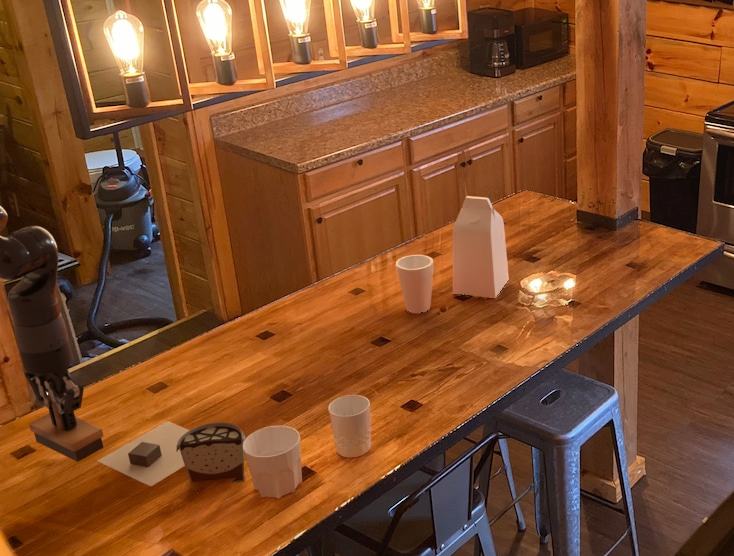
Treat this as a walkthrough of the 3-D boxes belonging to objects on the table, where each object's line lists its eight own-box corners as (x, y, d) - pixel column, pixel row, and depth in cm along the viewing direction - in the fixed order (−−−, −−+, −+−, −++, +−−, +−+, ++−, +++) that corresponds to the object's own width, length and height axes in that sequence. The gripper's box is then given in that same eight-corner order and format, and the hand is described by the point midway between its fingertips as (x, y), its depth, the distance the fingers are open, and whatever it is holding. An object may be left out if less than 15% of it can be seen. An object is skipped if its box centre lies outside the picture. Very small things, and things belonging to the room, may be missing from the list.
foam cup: (393, 307, 247) (388, 261, 241) (423, 296, 252) (420, 251, 247) (412, 319, 240) (408, 273, 235) (443, 308, 246) (440, 262, 241)
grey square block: (130, 464, 182) (127, 453, 181) (144, 452, 186) (141, 441, 185) (148, 467, 181) (145, 456, 180) (161, 455, 185) (159, 444, 184)
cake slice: (257, 461, 185) (250, 417, 181) (252, 480, 180) (244, 436, 176) (191, 467, 183) (182, 423, 179) (183, 487, 178) (174, 442, 174)
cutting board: (97, 465, 184) (96, 460, 183) (168, 424, 196) (167, 420, 196) (151, 491, 177) (150, 486, 176) (221, 447, 189) (220, 443, 189)
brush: (33, 442, 172) (22, 399, 168) (62, 426, 176) (52, 385, 172) (77, 463, 166) (66, 420, 162) (106, 447, 171) (96, 404, 167)
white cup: (332, 440, 192) (327, 398, 188) (372, 434, 194) (367, 391, 190) (335, 463, 185) (329, 419, 181) (376, 455, 187) (371, 412, 183)
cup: (264, 467, 183) (257, 424, 179) (314, 470, 182) (308, 427, 178) (241, 500, 174) (233, 455, 170) (293, 503, 173) (286, 458, 169)
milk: (509, 281, 261) (505, 192, 251) (495, 299, 251) (491, 207, 241) (467, 276, 264) (463, 188, 253) (452, 294, 254) (447, 203, 243)
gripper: (-3, 339, 163) (21, 424, 170) (47, 360, 156) (69, 448, 163) (40, 322, 169) (61, 405, 176) (89, 341, 162) (109, 427, 169)
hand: (65, 425), depth 169 cm, fingers closed on brush, 2 cm apart
